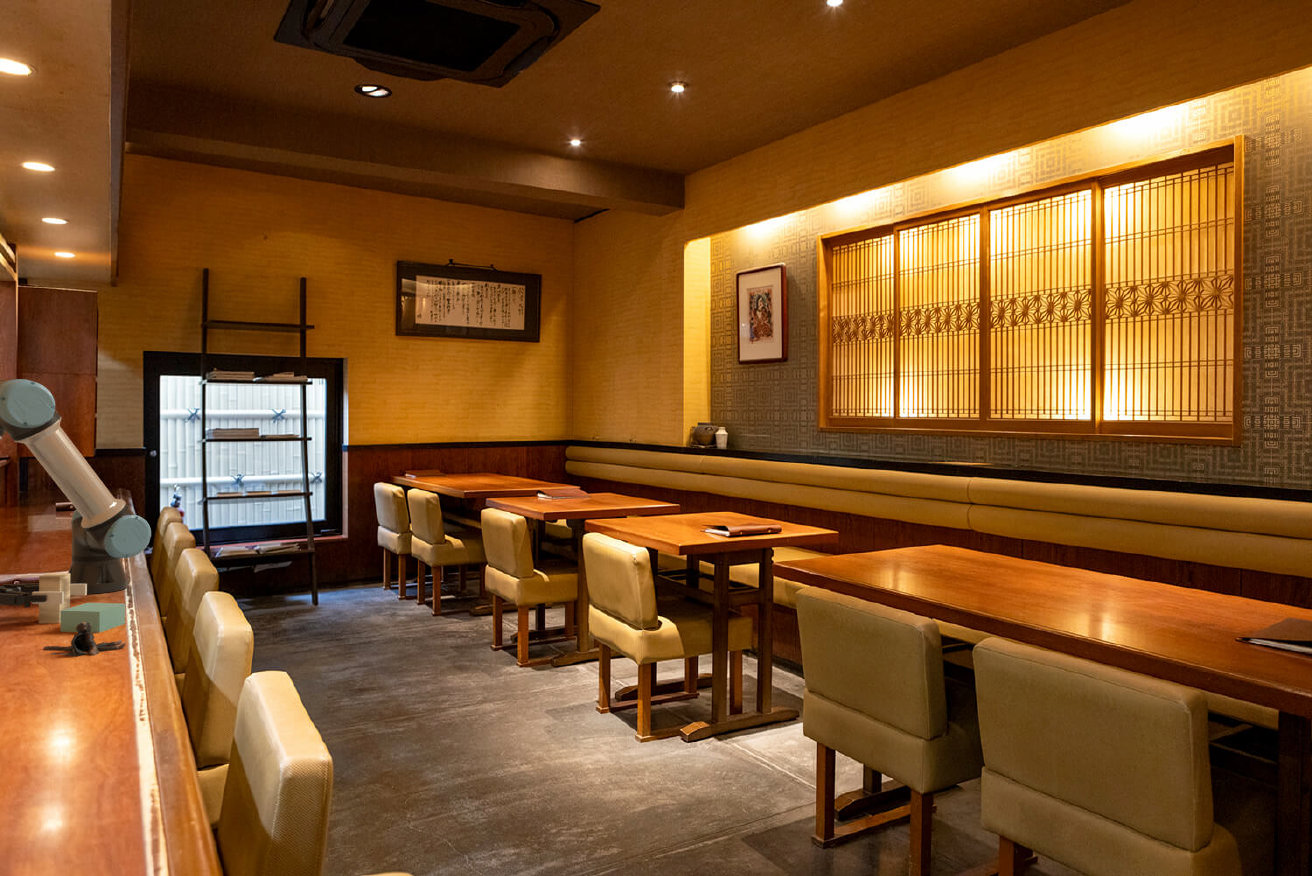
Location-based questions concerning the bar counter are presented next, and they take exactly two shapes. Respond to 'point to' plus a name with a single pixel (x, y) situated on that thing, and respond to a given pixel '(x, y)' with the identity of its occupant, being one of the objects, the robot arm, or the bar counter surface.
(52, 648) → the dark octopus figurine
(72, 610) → the green square block
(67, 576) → the block
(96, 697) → the bar counter surface
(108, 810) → the bar counter surface
